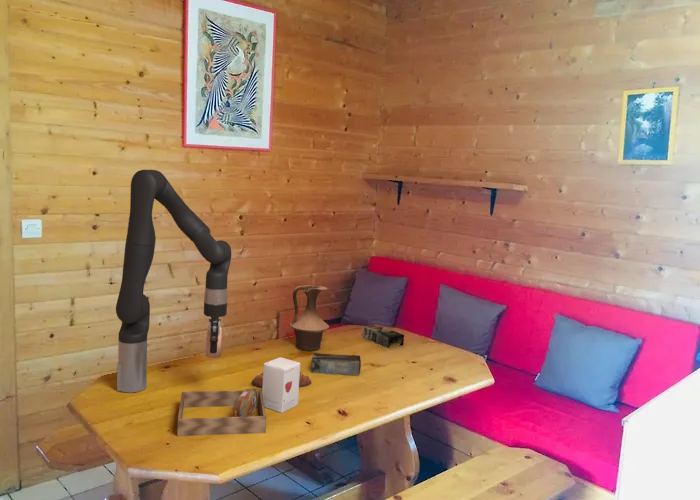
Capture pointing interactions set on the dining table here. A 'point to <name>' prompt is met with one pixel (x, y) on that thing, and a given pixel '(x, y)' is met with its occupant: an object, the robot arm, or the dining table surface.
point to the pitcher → (308, 320)
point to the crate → (220, 423)
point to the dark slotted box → (382, 335)
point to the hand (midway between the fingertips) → (213, 349)
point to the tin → (245, 404)
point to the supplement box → (281, 384)
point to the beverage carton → (336, 364)
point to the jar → (218, 354)
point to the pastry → (302, 380)
